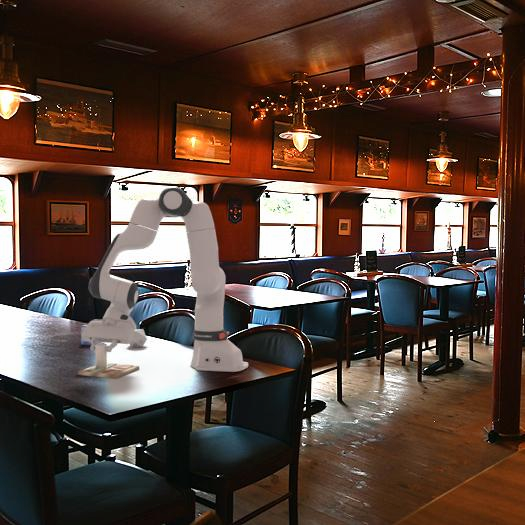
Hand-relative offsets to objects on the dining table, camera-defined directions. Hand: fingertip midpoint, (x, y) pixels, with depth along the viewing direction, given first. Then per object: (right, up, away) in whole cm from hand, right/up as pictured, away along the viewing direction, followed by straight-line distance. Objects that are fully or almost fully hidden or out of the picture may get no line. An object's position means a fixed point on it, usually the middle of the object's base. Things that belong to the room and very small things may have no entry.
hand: (100, 350), depth 233 cm
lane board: (+3, -8, 0) cm, 9 cm away
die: (+4, -5, +49) cm, 50 cm away
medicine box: (-18, -5, +54) cm, 57 cm away
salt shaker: (0, -6, +1) cm, 6 cm away
